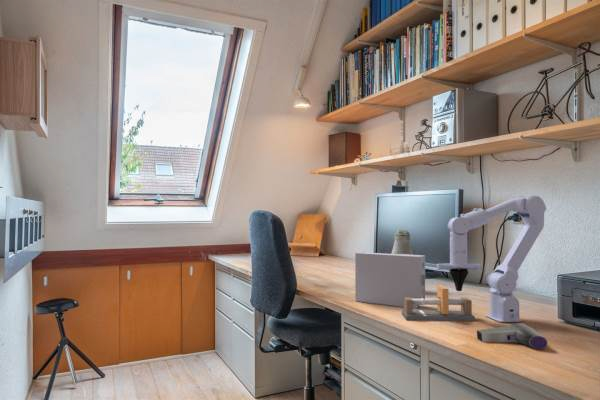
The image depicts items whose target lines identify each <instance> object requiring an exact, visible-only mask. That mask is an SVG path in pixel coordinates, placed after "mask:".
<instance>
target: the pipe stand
mask: <svg viewBox="0 0 600 400" xmlns="http://www.w3.org/2000/svg"><path fill="white" fill-rule="evenodd" d="M448 299H449V306H451V305H452V306H460V310H449V314H442V313H441V312H440V311H439V310H426V309H425V310H422V309H418V310H416V309H415V310H414V308H413V304H414V305H420V306H427V305H429V306H430V305H431V306H432V305H433V306H434V305H436V306H437V305H441V299H437V298H425V299H424V298H421V299H411V298H410V297H404V307H403V309H402V310H401V315H402V316H403V318H404V319H405V320H406V321H433V322H434V321H443V322H444V321H446V322H448V321H449V322H451V321H452V322H455V321H457V322H475V321H476V320H475V319H476V318H475V315H474V314H472V313H473V312H472V311H473V309H472V308H473V307H472V306H473V305H472V304H473V302H472V300H471V299H470V298H467V297H460V299H459V298H448Z"/></svg>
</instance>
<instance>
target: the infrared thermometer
mask: <svg viewBox="0 0 600 400" xmlns="http://www.w3.org/2000/svg"><path fill="white" fill-rule="evenodd" d="M476 337H477V340H479V341H480V342H481V343H484V342H485V343H487V342H488V343H518V344H523V345H525V346H528V347H529V348H533V349H534V350H543V349H545V348H547V346H548V340H547V338H546V337H544V336H543V335H542V334H541V333H539V332H538V330H537V331H536V329H534V328H532V326H531V327H530V326H529V325H526V324H525V323H520V322H518V323H514V324H510V325H509V326H508V325H507V326H506V325H505V326H501V327H494V328H483V329H477V330H476Z"/></svg>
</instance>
